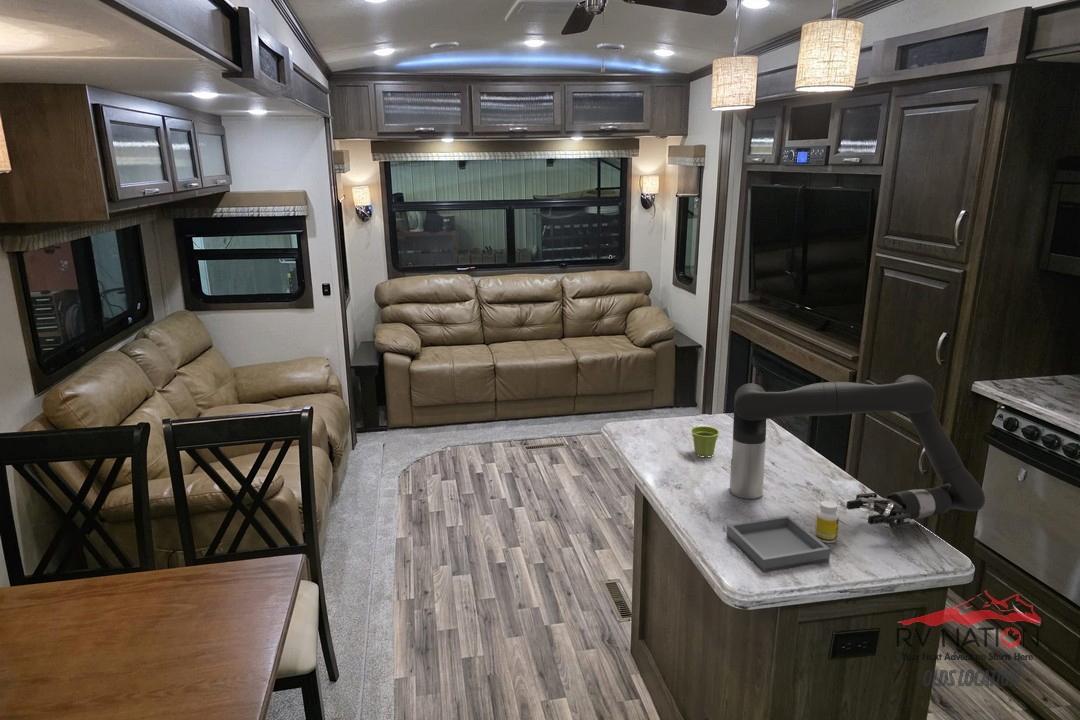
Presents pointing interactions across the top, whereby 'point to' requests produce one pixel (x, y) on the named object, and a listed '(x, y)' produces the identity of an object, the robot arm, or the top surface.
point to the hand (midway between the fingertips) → (858, 512)
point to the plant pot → (704, 440)
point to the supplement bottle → (827, 522)
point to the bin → (777, 543)
